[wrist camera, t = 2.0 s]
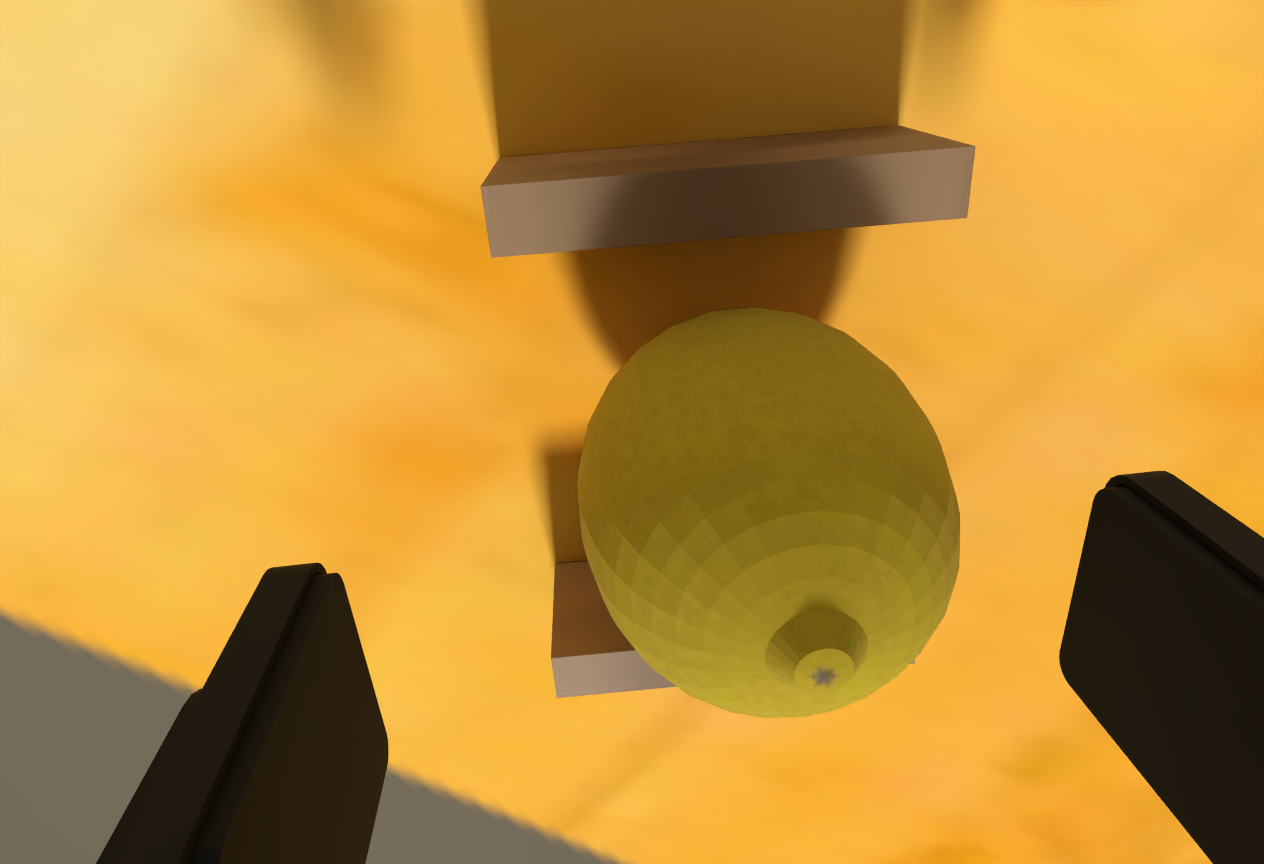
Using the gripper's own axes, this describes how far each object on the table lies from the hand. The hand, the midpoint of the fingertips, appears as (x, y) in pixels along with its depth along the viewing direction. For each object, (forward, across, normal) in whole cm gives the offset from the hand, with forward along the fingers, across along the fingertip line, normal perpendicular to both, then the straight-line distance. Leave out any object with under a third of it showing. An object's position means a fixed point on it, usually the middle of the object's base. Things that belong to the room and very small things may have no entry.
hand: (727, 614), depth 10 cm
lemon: (+7, -1, 0) cm, 7 cm away
